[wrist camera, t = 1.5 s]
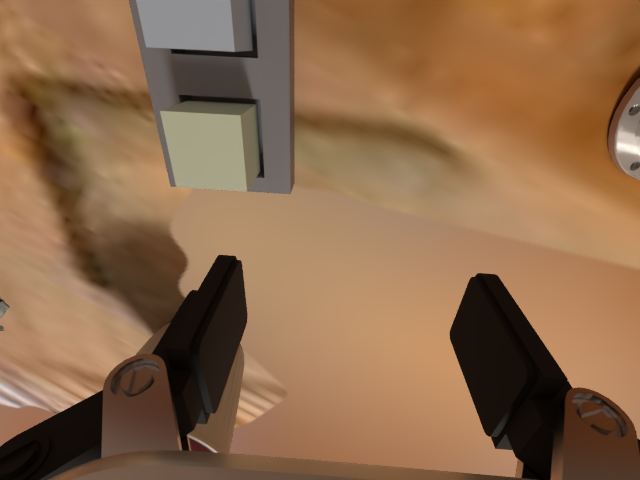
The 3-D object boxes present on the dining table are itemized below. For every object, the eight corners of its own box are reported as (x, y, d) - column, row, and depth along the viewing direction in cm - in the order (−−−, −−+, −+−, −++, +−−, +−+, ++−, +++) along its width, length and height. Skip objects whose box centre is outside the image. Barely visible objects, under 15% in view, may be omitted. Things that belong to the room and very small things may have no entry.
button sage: (256, 104, 27) (240, 115, 23) (260, 170, 30) (247, 191, 26) (187, 100, 27) (159, 110, 23) (199, 167, 31) (176, 186, 26)
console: (293, -324, 18) (283, -406, 14) (294, 182, 33) (289, 197, 30) (84, -328, 18) (27, -409, 15) (183, 175, 34) (166, 189, 31)
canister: (217, 282, 42) (124, 461, 24) (283, 363, 50) (251, 541, 32) (118, 319, 47) (-20, 490, 29) (193, 387, 55) (122, 553, 37)
